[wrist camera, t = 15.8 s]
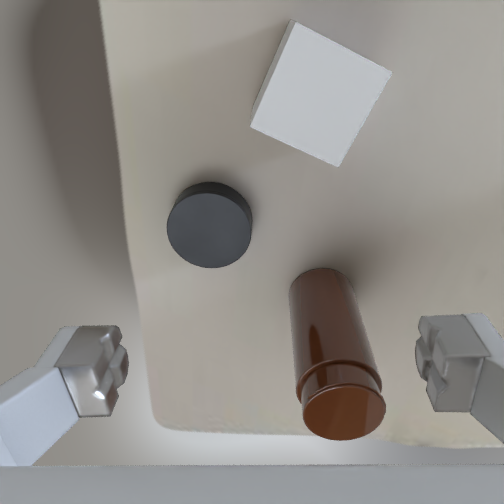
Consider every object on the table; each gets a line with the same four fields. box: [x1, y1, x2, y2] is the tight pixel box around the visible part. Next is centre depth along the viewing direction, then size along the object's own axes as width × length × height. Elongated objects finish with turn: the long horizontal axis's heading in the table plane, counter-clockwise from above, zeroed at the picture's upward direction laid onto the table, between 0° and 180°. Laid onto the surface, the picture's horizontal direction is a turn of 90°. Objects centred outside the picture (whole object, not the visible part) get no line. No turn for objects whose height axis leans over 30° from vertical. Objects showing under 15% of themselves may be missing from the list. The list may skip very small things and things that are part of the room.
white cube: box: [250, 20, 393, 167], centre depth 26 cm, size 6×6×6 cm
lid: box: [167, 182, 252, 268], centre depth 33 cm, size 7×7×2 cm
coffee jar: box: [289, 268, 386, 441], centre depth 32 cm, size 6×6×13 cm
